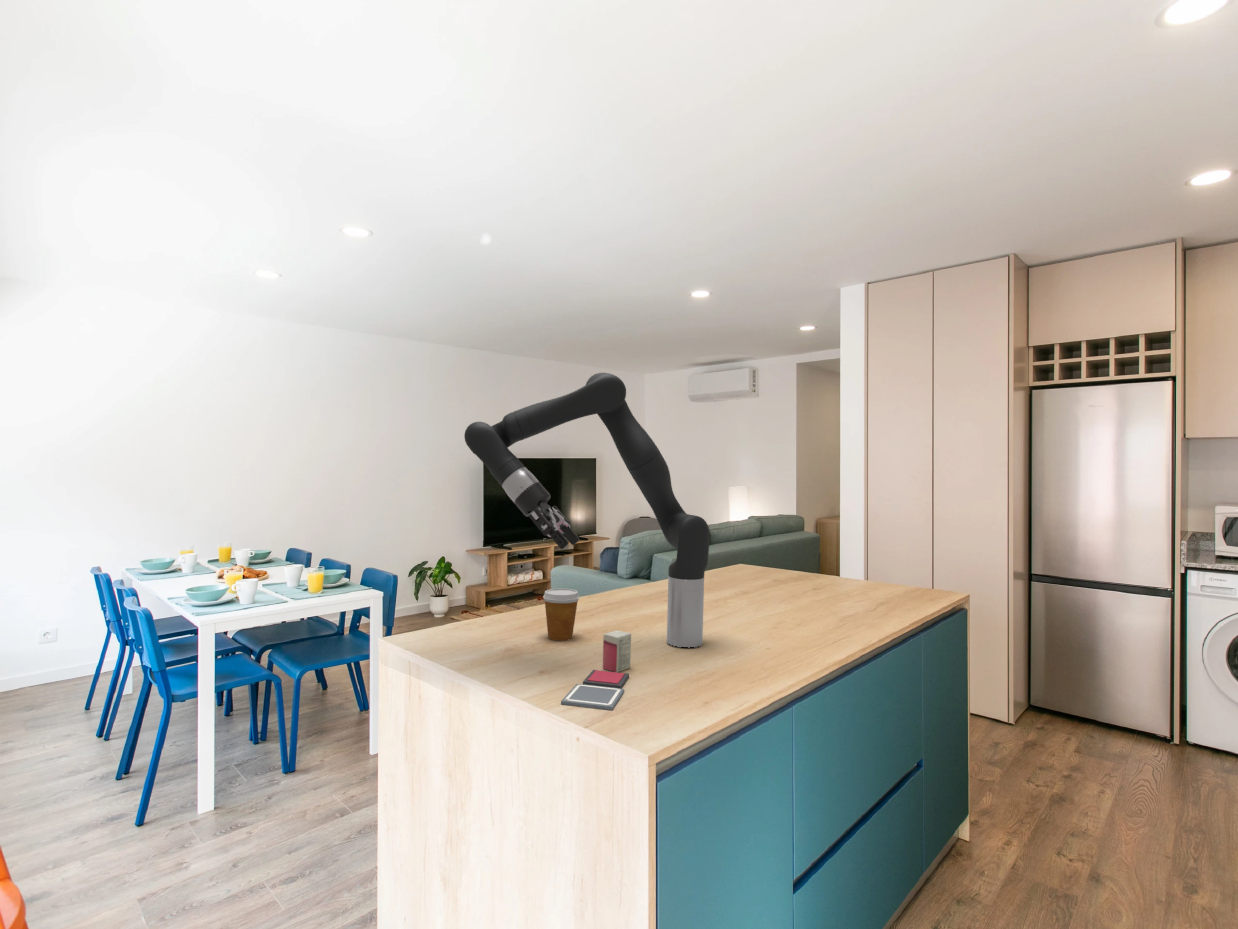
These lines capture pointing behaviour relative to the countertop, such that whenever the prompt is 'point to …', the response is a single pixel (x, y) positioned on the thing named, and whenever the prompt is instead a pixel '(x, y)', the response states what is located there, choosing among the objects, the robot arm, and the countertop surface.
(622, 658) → the small box
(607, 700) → the board
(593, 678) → the ink pad
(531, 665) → the countertop surface
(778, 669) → the countertop surface
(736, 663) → the countertop surface
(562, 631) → the disposable coffee cup
